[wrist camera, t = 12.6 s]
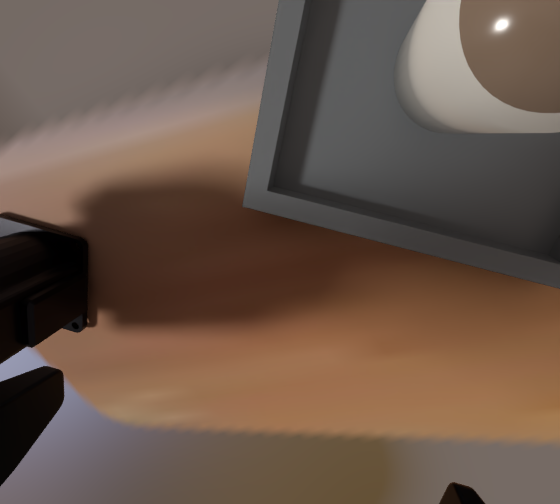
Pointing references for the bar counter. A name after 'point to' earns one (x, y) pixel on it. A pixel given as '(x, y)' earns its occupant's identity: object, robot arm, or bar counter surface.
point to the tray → (393, 150)
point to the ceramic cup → (482, 67)
